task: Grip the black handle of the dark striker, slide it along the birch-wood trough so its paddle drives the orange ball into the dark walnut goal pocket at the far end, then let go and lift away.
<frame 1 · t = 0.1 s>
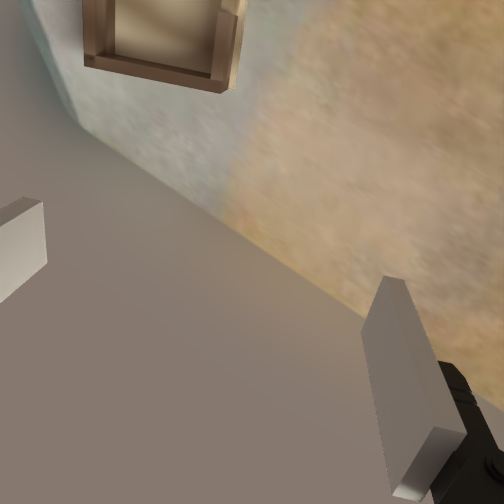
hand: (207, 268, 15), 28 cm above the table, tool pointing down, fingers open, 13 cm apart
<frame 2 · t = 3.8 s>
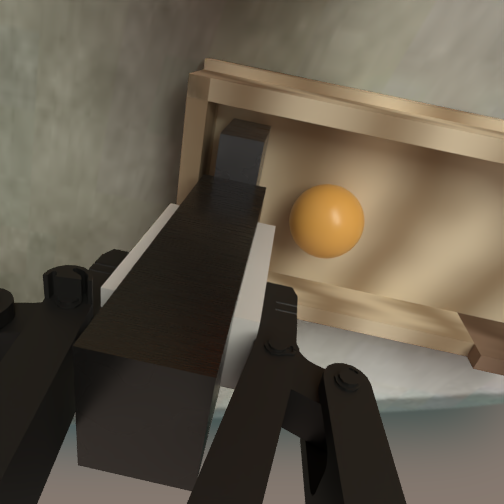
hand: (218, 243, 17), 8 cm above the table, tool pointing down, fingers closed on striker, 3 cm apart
ball: (326, 221, 22), point 3 cm above the table, touching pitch
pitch: (388, 215, 24), on the table
striker: (211, 258, 16), point 9 cm above the table, slide at 0.0 cm, touching gripper
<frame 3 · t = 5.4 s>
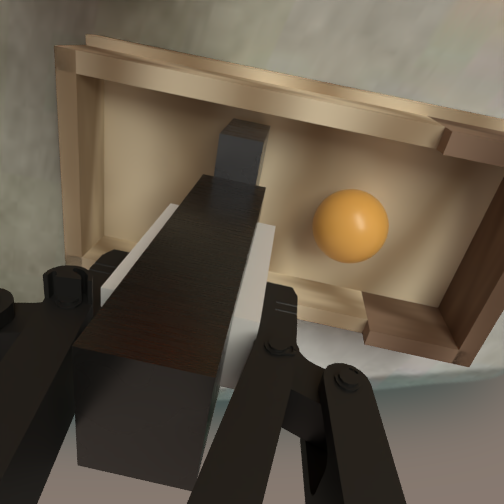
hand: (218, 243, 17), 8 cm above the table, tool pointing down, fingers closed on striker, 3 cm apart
ball: (349, 226, 22), point 3 cm above the table, tilted 145°, touching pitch
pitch: (287, 194, 24), on the table
striker: (211, 258, 16), point 9 cm above the table, slide at 6.3 cm, touching gripper
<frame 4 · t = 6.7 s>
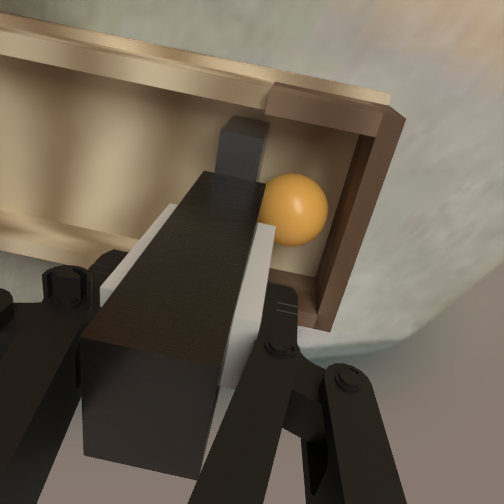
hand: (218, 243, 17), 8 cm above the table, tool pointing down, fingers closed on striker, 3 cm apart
ball: (291, 210, 22), point 3 cm above the table, tilted 15°, touching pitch
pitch: (160, 163, 25), on the table
striker: (212, 253, 16), point 9 cm above the table, slide at 14.2 cm, touching gripper
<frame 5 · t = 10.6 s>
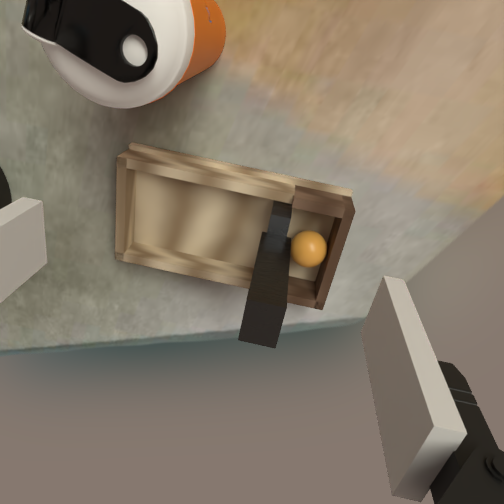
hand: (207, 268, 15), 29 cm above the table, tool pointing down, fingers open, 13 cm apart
shaker bottle: (189, 31, 38), on the table
ball: (308, 248, 43), point 3 cm above the table, touching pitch
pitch: (232, 220, 46), on the table
striker: (269, 271, 38), point 9 cm above the table, slide at 14.2 cm
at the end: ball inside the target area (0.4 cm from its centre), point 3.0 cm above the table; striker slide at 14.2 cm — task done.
